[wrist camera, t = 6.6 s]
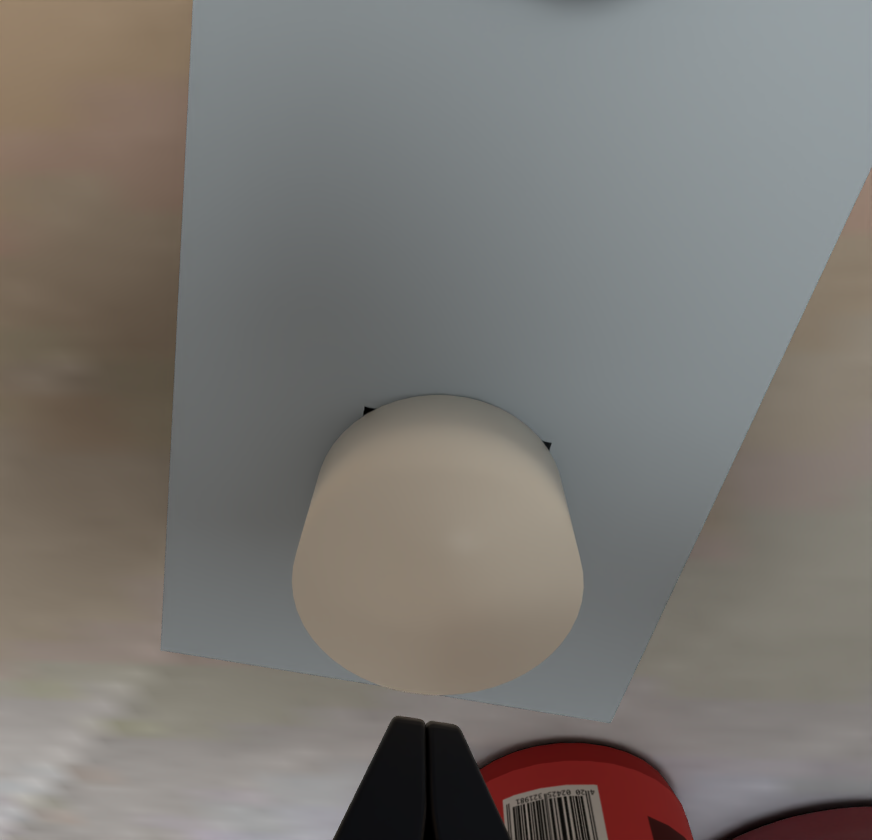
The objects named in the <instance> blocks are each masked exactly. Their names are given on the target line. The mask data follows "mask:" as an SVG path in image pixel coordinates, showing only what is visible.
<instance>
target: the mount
mask: <svg viewBox="0 0 872 840" xmlns="http://www.w3.org/2000/svg"><path fill="white" fill-rule="evenodd" d="M871 168H872V0H193V11H192V32H191V52H190V72H189V92H188V112H187V132H186V152H185V172H184V192H183V212H182V232H181V252H180V272H179V292H178V312H177V333H176V353H175V373H174V393H173V413H172V433H171V453H170V473H169V493H168V513H167V533H166V553H165V573H164V593H163V613H162V634H161V650H162V651H168V652H174V653H181V654H187V655H193V656H199V657H205V658H211V659H218V660H224V661H230V662H236V663H242V664H248V665H255V666H261V667H267V668H273V669H279V670H285V671H292V672H298V673H304V674H310V675H316V676H322V677H328V678H335V679H341V680H347V681H353V682H359V683H365V684H372V685H377V684H375V683H372V682H370V681H368V680H365V679H363V678H361V677H359V676H357V675H355V674H354V673H352V672H350V671H348V670H346V669H345V668H344V667H342V666H341V665H339V664H338V663H337V662H335V661H334V660H333V659H331V658H330V657H329V656H328V655H327V654H326V653H325V652H324V651H323V650H322V649H321V648H320V647H319V646H318V645H317V644H316V642H315V641H314V640H313V639H312V638H311V636H310V635H309V633H308V631H307V630H306V628H305V627H304V625H303V623H302V621H301V619H300V616H299V614H298V612H297V609H296V605H295V602H294V598H293V590H292V571H293V564H294V560H295V556H296V552H297V548H298V545H299V541H300V538H301V534H302V531H303V527H304V524H305V520H306V517H307V513H308V510H309V507H310V503H311V500H312V496H313V493H314V489H315V486H316V482H317V479H318V475H319V472H320V469H321V466H322V464H323V462H324V459H325V457H326V455H327V453H328V452H329V450H330V449H331V447H332V445H333V444H334V443H335V441H336V440H337V439H338V438H339V437H340V435H341V434H342V433H343V432H344V431H345V430H346V429H347V428H349V427H350V426H351V425H352V424H353V423H354V422H356V421H357V420H359V419H360V418H361V417H363V416H364V415H366V414H367V413H369V412H371V411H373V410H375V409H377V408H379V407H381V406H384V405H386V404H389V403H392V402H395V401H398V400H402V399H407V398H411V397H416V396H426V395H452V396H459V397H467V398H471V399H475V400H478V401H482V402H485V403H488V404H490V405H493V406H495V407H498V408H500V409H502V410H504V411H506V412H508V413H509V414H511V415H513V416H515V417H516V418H517V419H519V420H520V421H521V422H523V423H524V424H526V425H527V426H528V427H529V428H530V429H531V430H532V431H533V432H534V433H535V434H536V435H537V436H538V437H539V438H540V439H541V441H542V442H543V443H544V444H545V446H546V447H547V448H548V450H549V452H550V454H551V455H552V457H553V459H554V461H555V463H556V466H557V468H558V471H559V474H560V478H561V482H562V486H563V490H564V494H565V498H566V502H567V506H568V510H569V514H570V519H571V523H572V527H573V531H574V535H575V539H576V543H577V547H578V551H579V555H580V560H581V565H582V569H583V582H584V589H583V597H582V603H581V606H580V610H579V613H578V616H577V618H576V620H575V622H574V625H573V627H572V629H571V630H570V632H569V633H568V635H567V636H566V638H565V639H564V641H563V642H562V643H561V644H560V645H559V647H558V648H557V649H556V650H555V651H554V652H553V653H552V654H551V655H550V656H549V657H548V658H546V659H545V660H544V661H543V662H542V663H540V664H539V665H538V666H536V667H535V668H533V669H532V670H530V671H528V672H527V673H525V674H523V675H521V676H519V677H517V678H515V679H513V680H511V681H509V682H506V683H504V684H501V685H498V686H496V687H492V688H489V689H485V690H481V691H477V692H471V693H465V694H455V695H439V696H446V697H452V698H458V699H464V700H470V701H476V702H483V703H489V704H495V705H501V706H507V707H513V708H520V709H526V710H532V711H538V712H544V713H550V714H556V715H563V716H569V717H575V718H581V719H587V720H593V721H600V722H606V723H611V721H612V719H613V717H614V715H615V713H616V710H617V708H618V706H619V704H620V702H621V700H622V698H623V696H624V693H625V691H626V689H627V687H628V685H629V683H630V681H631V679H632V676H633V674H634V672H635V670H636V668H637V666H638V664H639V662H640V659H641V657H642V655H643V653H644V651H645V649H646V647H647V644H648V642H649V640H650V638H651V636H652V634H653V632H654V630H655V627H656V625H657V623H658V621H659V619H660V617H661V615H662V613H663V610H664V608H665V606H666V604H667V602H668V600H669V598H670V596H671V593H672V591H673V589H674V587H675V585H676V583H677V581H678V578H679V576H680V574H681V572H682V570H683V568H684V566H685V564H686V561H687V559H688V557H689V555H690V553H691V551H692V549H693V547H694V544H695V542H696V540H697V538H698V536H699V534H700V532H701V530H702V527H703V525H704V523H705V521H706V519H707V517H708V515H709V513H710V510H711V508H712V506H713V504H714V502H715V500H716V498H717V495H718V493H719V491H720V489H721V487H722V485H723V483H724V481H725V478H726V476H727V474H728V472H729V470H730V468H731V466H732V464H733V461H734V459H735V457H736V455H737V453H738V451H739V449H740V446H741V444H742V442H743V440H744V438H745V436H746V434H747V432H748V429H749V427H750V425H751V423H752V421H753V419H754V417H755V415H756V412H757V410H758V408H759V406H760V404H761V402H762V400H763V398H764V395H765V393H766V391H767V389H768V387H769V385H770V383H771V381H772V378H773V376H774V374H775V372H776V370H777V368H778V366H779V363H780V361H781V359H782V357H783V355H784V353H785V351H786V349H787V346H788V344H789V342H790V340H791V338H792V336H793V334H794V332H795V329H796V327H797V325H798V323H799V321H800V319H801V317H802V315H803V312H804V310H805V308H806V306H807V304H808V302H809V300H810V297H811V295H812V293H813V291H814V289H815V287H816V285H817V283H818V280H819V278H820V276H821V274H822V272H823V270H824V268H825V266H826V263H827V261H828V259H829V257H830V255H831V253H832V251H833V249H834V246H835V244H836V242H837V240H838V238H839V236H840V234H841V231H842V229H843V227H844V225H845V223H846V221H847V219H848V217H849V214H850V212H851V210H852V208H853V206H854V204H855V202H856V200H857V197H858V195H859V193H860V191H861V189H862V187H863V185H864V183H865V180H866V178H867V176H868V174H869V172H870V170H871ZM378 686H380V685H378Z"/></svg>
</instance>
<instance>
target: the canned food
mask: <svg viewBox="0 0 872 840" xmlns="http://www.w3.org/2000/svg"><path fill="white" fill-rule="evenodd" d="M480 772H481V774H482V777H483V779H484V781H485V783H486V785H487V788H488V790H489V792H490V794H491V796H492V798H493V801H494V803H495V805H496V807H497V809H498V811H499V814H500V816H501V818H502V820H503V822H504V825H505V827H506V829H507V831H508V833H509V835H510V838H511V840H693V837H692V833H691V830H690V827H689V823H688V820H687V817H686V815H685V812H684V809H683V807H682V804H681V803H680V801H679V800H678V798H677V797H676V795H675V794H674V792H673V791H672V789H671V788H670V786H669V785H668V783H667V782H666V781H665V780H664V778H663V777H662V776H661V775H660V773H659V772H658V771H657V770H656V769H654V768H653V767H652V766H650V765H649V764H648V763H647V762H645V761H644V760H642V759H640V758H638V757H636V756H634V755H631V754H629V753H627V752H624V751H621V750H617V749H614V748H610V747H607V746H601V745H594V744H586V743H555V744H548V745H540V746H535V747H531V748H527V749H524V750H520V751H516V752H514V753H511V754H509V755H507V756H504V757H502V758H500V759H497V760H495V761H493V762H491V763H490V764H488V765H487V766H485V767H483V768H482V769H480Z"/></svg>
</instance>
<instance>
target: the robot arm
mask: <svg viewBox="0 0 872 840" xmlns="http://www.w3.org/2000/svg"><path fill="white" fill-rule="evenodd" d="M333 840H511V838H510V835H509V833H508V831H507V829H506V827H505V825H504V822H503V820H502V818H501V816H500V814H499V811H498V809H497V807H496V805H495V803H494V801H493V798H492V796H491V794H490V792H489V790H488V788H487V785H486V783H485V781H484V779H483V777H482V774H481V772H480V770H479V768H478V766H477V764H476V761H475V759H474V757H473V755H472V753H471V750H470V748H469V746H468V744H467V742H466V740H465V737H464V735H463V733H462V731H461V730H460V728H459V727H458V726H456V725H454V724H448V723H441V722H435V721H430V722H428V723H427V724H426V725H425V722H424V721H423V720H421V719H416V718H409V717H403V716H396V717H394V718H393V719H392V721H391V722H390V724H389V726H388V728H387V730H386V732H385V734H384V736H383V738H382V741H381V743H380V745H379V747H378V749H377V751H376V753H375V755H374V757H373V759H372V761H371V763H370V765H369V767H368V769H367V771H366V773H365V775H364V777H363V779H362V781H361V783H360V785H359V787H358V789H357V791H356V793H355V796H354V798H353V800H352V802H351V804H350V806H349V808H348V810H347V812H346V814H345V816H344V818H343V820H342V822H341V824H340V826H339V828H338V830H337V832H336V834H335V836H334V838H333Z"/></svg>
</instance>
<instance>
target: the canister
mask: <svg viewBox="0 0 872 840" xmlns="http://www.w3.org/2000/svg"><path fill="white" fill-rule="evenodd" d="M732 840H872V806H867V807H848V808H838V809H831V810H824V811H818V812H812V813H807V814H802V815H798V816H794V817H790V818H786V819H783V820H779V821H776V822H773V823H770V824H767V825H764V826H762V827H759V828H756V829H754V830H751V831H749V832H747V833H744V834H742V835H740V836H738V837H736V838H734V839H732Z"/></svg>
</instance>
